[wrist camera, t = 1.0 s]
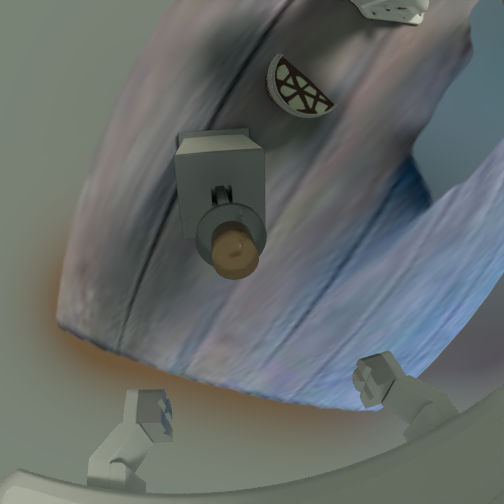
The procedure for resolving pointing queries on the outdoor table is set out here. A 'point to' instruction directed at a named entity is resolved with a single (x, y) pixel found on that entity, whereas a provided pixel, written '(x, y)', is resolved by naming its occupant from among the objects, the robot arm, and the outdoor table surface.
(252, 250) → the plunger
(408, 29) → the outdoor table surface
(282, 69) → the half citrus wheel toy
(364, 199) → the outdoor table surface
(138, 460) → the robot arm
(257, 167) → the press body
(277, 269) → the outdoor table surface
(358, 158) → the outdoor table surface
